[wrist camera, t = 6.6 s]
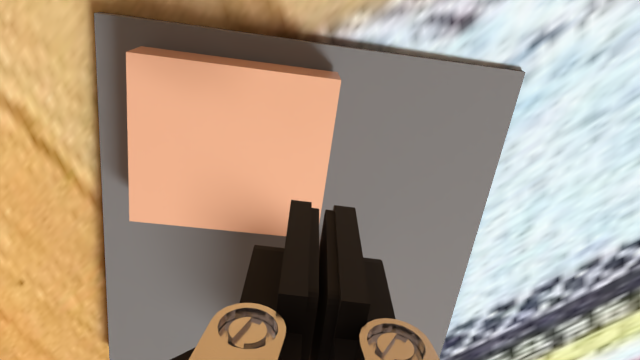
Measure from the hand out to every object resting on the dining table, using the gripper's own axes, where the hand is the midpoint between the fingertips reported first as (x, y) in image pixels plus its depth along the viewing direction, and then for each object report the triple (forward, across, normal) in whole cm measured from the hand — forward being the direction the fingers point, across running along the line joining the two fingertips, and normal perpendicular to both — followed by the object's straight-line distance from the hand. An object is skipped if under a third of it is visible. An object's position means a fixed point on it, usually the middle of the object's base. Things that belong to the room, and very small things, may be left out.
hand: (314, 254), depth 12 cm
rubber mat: (+10, 0, +5) cm, 11 cm away
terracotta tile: (+8, 0, 0) cm, 8 cm away
